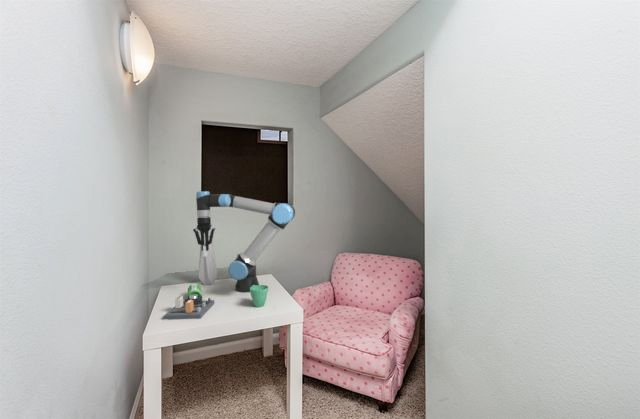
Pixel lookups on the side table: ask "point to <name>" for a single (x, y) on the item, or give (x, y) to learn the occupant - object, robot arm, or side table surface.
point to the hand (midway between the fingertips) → (205, 255)
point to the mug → (259, 294)
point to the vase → (207, 266)
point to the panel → (197, 313)
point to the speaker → (194, 289)
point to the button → (193, 296)
